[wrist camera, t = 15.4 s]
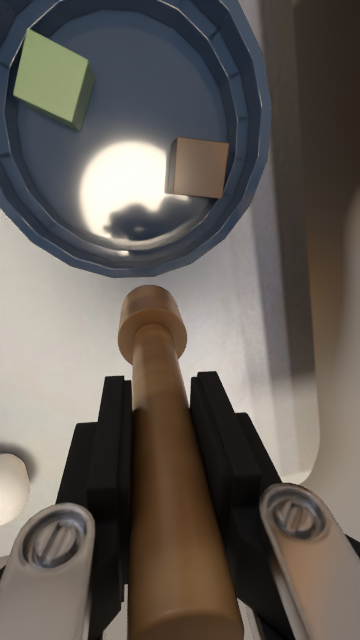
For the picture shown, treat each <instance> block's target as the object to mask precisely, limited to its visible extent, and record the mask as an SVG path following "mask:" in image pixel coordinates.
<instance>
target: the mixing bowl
mask: <svg viewBox="0 0 360 640" xmlns="http://www.w3.org/2000/svg"><path fill="white" fill-rule="evenodd" d="M27 28H29V29H31V30H33V31H35V32H36V33H38V34H40V35H42V36H44V37H46V38H48V39H50V40H52V41H54V42H55V43H57V44H59V45H61V46H63V47H65V48H67V49H69V50H71V51H73V52H74V53H76V54H78V55H80V56H82V57H84V58H86V59H88V60H89V63H90V66H91V69H92V72H93V75H94V78H95V81H94V84H93V88H92V91H91V95H90V98H89V102H88V106H87V109H86V113H85V116H84V120H83V123H82V127H81V130H80V132H79V131H77V130H75V129H72V128H70V127H68V126H66V125H64V124H62V123H60V122H57V121H55V120H53V119H51V118H49V117H47V116H45V115H42V114H40V113H38V112H36V111H34V110H32V109H30V108H29V107H27V106H26V105H25V104H24V103H22V102H21V101H20V100H19V99H17V98H16V97H15V96H14V95H13V91H14V86H15V82H16V77H17V73H18V68H19V63H20V59H21V54H22V50H23V45H24V40H25V36H26V31H27ZM271 114H272V106H271V100H270V94H269V88H268V82H267V77H266V71H265V65H264V59H263V54H262V51H261V48H260V46H259V44H258V42H257V40H256V38H255V36H254V34H253V32H252V29H251V27H250V25H249V23H248V21H247V19H246V17H245V15H244V13H243V10H242V8H241V6H240V4H239V2H238V0H0V208H1V209H2V211H3V212H4V213H5V214H6V215H7V216H8V217H9V218H10V219H11V220H12V221H13V222H14V224H15V225H16V226H17V227H18V228H19V229H20V230H21V231H22V232H23V233H24V234H25V236H26V237H27V238H28V239H29V240H30V241H31V242H32V243H34V244H36V245H37V246H39V247H40V248H42V249H44V250H45V251H47V252H48V253H50V254H52V255H53V256H55V257H56V258H58V259H60V260H61V261H63V262H65V263H66V264H68V265H69V266H72V267H75V268H79V269H82V270H86V271H89V272H93V273H97V274H100V275H104V276H107V277H111V278H112V277H113V278H128V277H153V276H157V275H160V274H163V273H166V272H169V271H172V270H175V269H177V268H180V267H183V266H186V265H189V264H191V263H193V262H195V261H196V260H197V259H199V258H200V257H201V256H203V255H204V254H205V253H207V252H208V251H209V250H211V249H212V248H213V247H215V246H216V245H217V244H219V243H220V242H221V241H223V240H224V239H225V238H226V237H227V235H228V234H229V233H230V231H231V230H232V229H233V227H234V226H235V224H236V223H237V222H238V220H239V219H240V218H241V216H242V215H243V214H244V212H245V211H246V210H247V208H248V207H249V206H250V203H251V202H252V199H253V197H254V194H255V191H256V189H257V186H258V183H259V181H260V178H261V175H262V173H263V170H264V167H265V165H266V162H267V158H268V147H269V136H270V125H271ZM177 137H186V138H193V139H201V140H209V141H217V142H225V143H229V150H228V158H227V165H226V173H225V181H224V188H223V196H222V199H216V198H206V197H196V196H186V195H176V194H168V186H169V173H170V159H171V146H172V143H173V142H174V140H175V139H176V138H177Z"/></svg>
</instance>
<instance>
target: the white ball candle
mask: <svg viewBox="0 0 360 640" xmlns="http://www.w3.org/2000/svg"><path fill="white" fill-rule="evenodd" d="M29 492H30V486H29V480H28V475H27V471H26V467H25V464H24V463H23V461H22V460H21V459H19V458H18V457H16V456H15V455H12V454H0V526H1V525H4V524H6V523H9V522H10V521H12V520H13V519H15V518H16V517H17V516H18V515H19V514H20V512H21V511H22V510H23V508H24V507H25V505H26V503H27V501H28V497H29Z"/></svg>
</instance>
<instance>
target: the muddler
mask: <svg viewBox="0 0 360 640" xmlns="http://www.w3.org/2000/svg"><path fill="white" fill-rule="evenodd" d="M186 344H187V332H186V329H185V326H184V323H183V320H182V318H181V315H180V312H179V309H178V306H177V304H176V301H175V299H174V297H173V296H172V295H171V294H170V293H169V292H168V291H167V290H166V289H164V288H162V287H159V286H156V285H144V286H140V287H138V288H135V289H134V290H132V291H131V292H130V293H129V294H128V295H127V296H126V298H125V299H124V301H123V304H122V309H121V317H120V324H119V332H118V346H119V350H120V352H121V354H122V355H123V357H124V358H125V359H126V360H127V361H128V362H129V363H130V364H131V365H133V376H132V409H133V418H132V475H131V531H130V536H129V560H128V606H127V607H128V608H127V640H243V639H244V625H243V621H242V617H241V614H240V610H239V605H238V601H237V597H236V593H235V589H234V585H233V581H232V577H231V573H230V569H229V565H228V561H227V557H226V552H225V548H224V544H223V540H222V536H221V532H220V528H219V524H218V520H217V516H216V512H215V508H214V504H213V500H212V496H211V492H210V488H209V484H208V480H207V476H206V472H205V468H204V464H203V460H202V456H201V452H200V448H199V443H198V439H197V435H196V431H195V427H194V423H193V419H192V415H191V411H190V407H189V403H188V399H187V395H186V391H185V387H184V383H183V379H182V375H181V371H180V367H179V363H178V359H179V358H180V357H181V355H182V354H183V352H184V350H185V348H186Z"/></svg>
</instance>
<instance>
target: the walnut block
mask: <svg viewBox="0 0 360 640" xmlns="http://www.w3.org/2000/svg"><path fill="white" fill-rule="evenodd" d="M228 150H229V143H225V142H217V141H209V140H201V139H193V138H186V137H177V138H176V139H175V140H174V142H173V143H172V146H171V159H170V173H169V186H168V194H176V195H186V196H196V197H206V198H216V199H222V196H223V188H224V181H225V173H226V165H227V158H228Z"/></svg>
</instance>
